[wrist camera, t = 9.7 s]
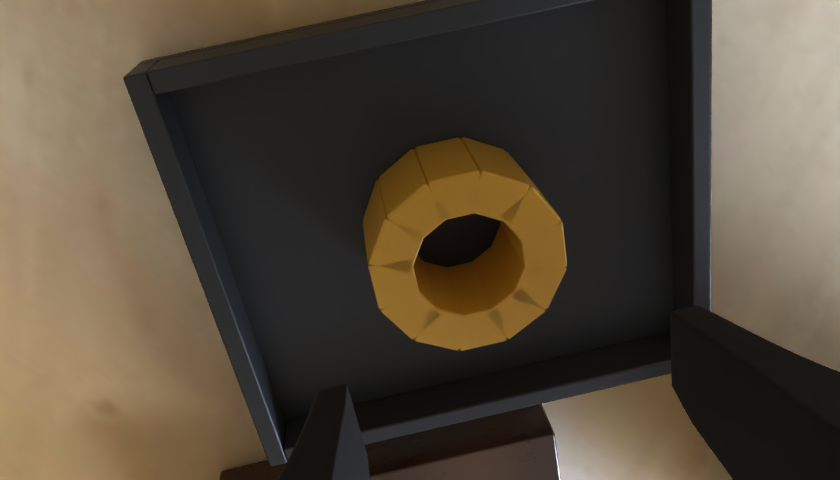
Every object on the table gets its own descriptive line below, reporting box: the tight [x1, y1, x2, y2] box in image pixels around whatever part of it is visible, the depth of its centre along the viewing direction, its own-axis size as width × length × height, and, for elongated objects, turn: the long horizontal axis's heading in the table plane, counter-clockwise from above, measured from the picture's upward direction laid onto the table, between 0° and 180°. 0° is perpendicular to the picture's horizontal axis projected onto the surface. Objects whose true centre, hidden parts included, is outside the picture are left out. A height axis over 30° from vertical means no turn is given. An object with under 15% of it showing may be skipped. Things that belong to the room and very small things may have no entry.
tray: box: [124, 0, 712, 466], centre depth 21 cm, size 15×13×2 cm
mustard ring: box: [363, 137, 567, 351], centre depth 20 cm, size 5×5×3 cm
